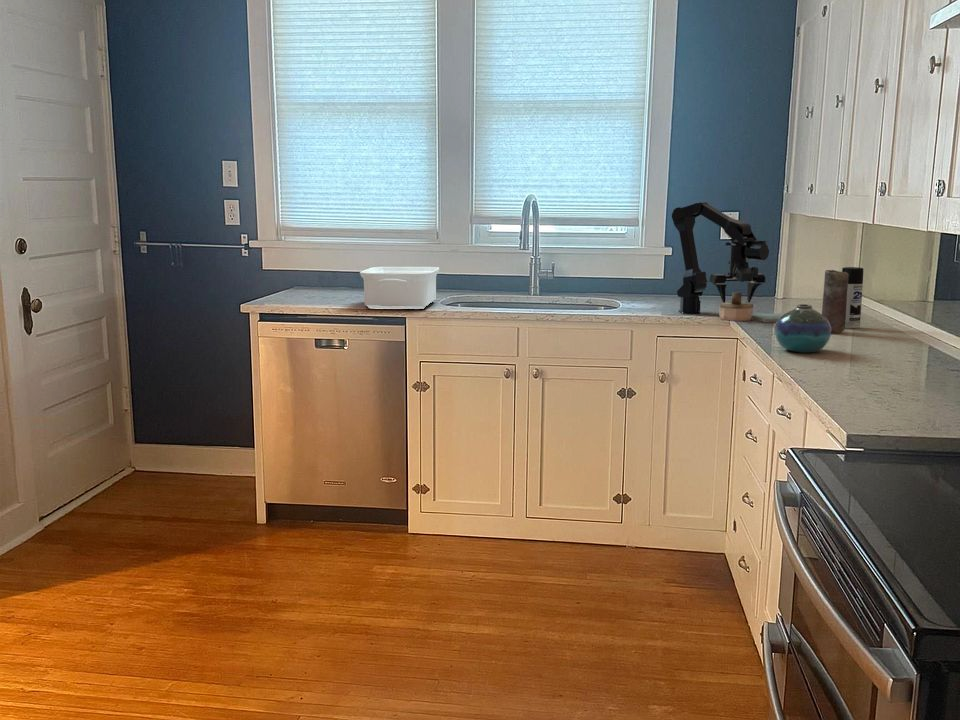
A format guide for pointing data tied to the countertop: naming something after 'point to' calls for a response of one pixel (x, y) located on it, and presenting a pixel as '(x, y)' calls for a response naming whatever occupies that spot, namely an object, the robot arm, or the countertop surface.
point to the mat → (767, 317)
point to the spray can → (853, 297)
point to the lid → (736, 302)
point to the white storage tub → (399, 286)
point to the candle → (835, 299)
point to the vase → (803, 330)
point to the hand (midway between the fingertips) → (736, 302)
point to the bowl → (736, 314)
